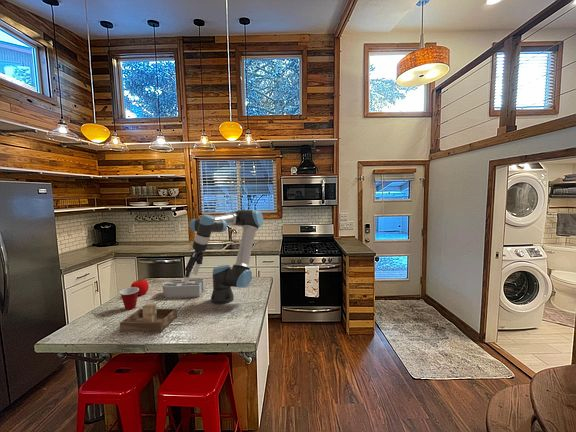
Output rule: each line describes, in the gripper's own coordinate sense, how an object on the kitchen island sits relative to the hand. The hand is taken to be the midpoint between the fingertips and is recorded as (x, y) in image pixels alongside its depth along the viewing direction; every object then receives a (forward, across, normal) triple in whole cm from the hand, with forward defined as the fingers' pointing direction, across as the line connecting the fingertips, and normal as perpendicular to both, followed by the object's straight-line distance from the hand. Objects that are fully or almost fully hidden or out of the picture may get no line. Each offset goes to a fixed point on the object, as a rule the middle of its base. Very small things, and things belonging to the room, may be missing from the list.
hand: (190, 278), depth 151 cm
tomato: (+43, +44, +43) cm, 75 cm away
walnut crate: (+31, -3, +13) cm, 34 cm away
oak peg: (+30, -3, +13) cm, 33 cm away
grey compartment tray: (+32, +44, +13) cm, 57 cm away
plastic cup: (+39, +18, +36) cm, 56 cm away
